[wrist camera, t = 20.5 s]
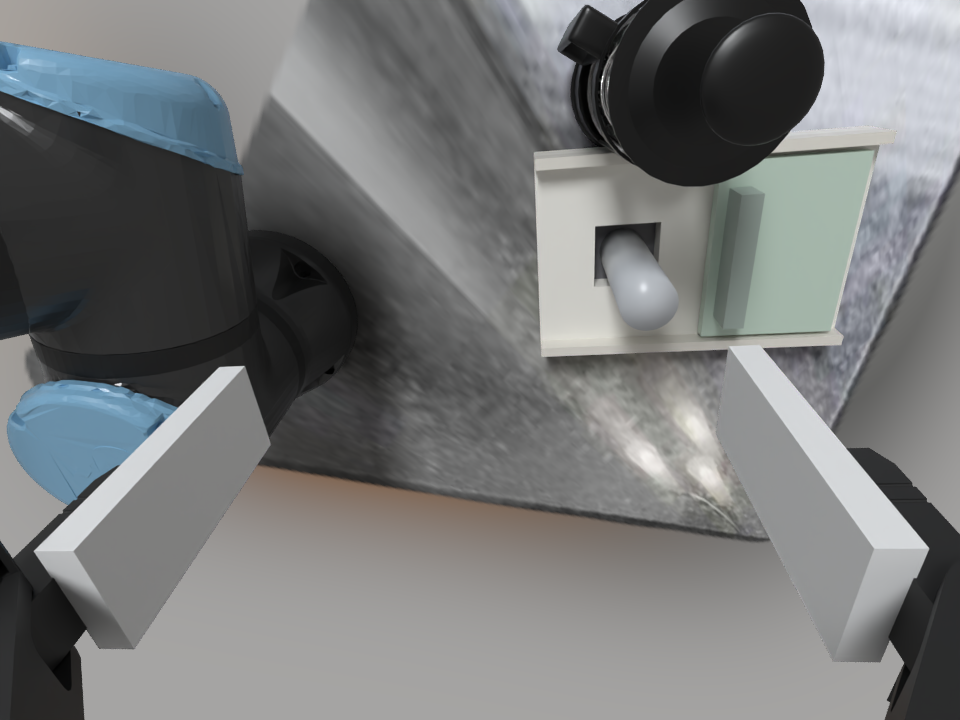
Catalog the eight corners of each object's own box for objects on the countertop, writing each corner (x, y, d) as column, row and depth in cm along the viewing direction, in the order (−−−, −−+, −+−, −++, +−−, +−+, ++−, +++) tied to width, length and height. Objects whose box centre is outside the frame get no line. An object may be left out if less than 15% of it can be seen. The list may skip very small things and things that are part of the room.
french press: (737, 58, 38) (995, 23, 18) (658, 181, 42) (793, 268, 22) (595, -33, 36) (699, -190, 16) (526, 104, 40) (538, 121, 20)
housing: (540, 338, 49) (541, 356, 46) (533, 152, 42) (534, 159, 38) (820, 326, 47) (841, 344, 44) (867, 125, 39) (896, 130, 36)
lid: (697, 331, 45) (709, 350, 42) (717, 160, 39) (733, 168, 36) (824, 325, 44) (846, 345, 41) (866, 148, 38) (896, 156, 35)
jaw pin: (598, 271, 45) (617, 331, 35) (599, 229, 44) (621, 277, 33) (642, 270, 45) (675, 330, 34) (645, 227, 43) (681, 276, 33)
